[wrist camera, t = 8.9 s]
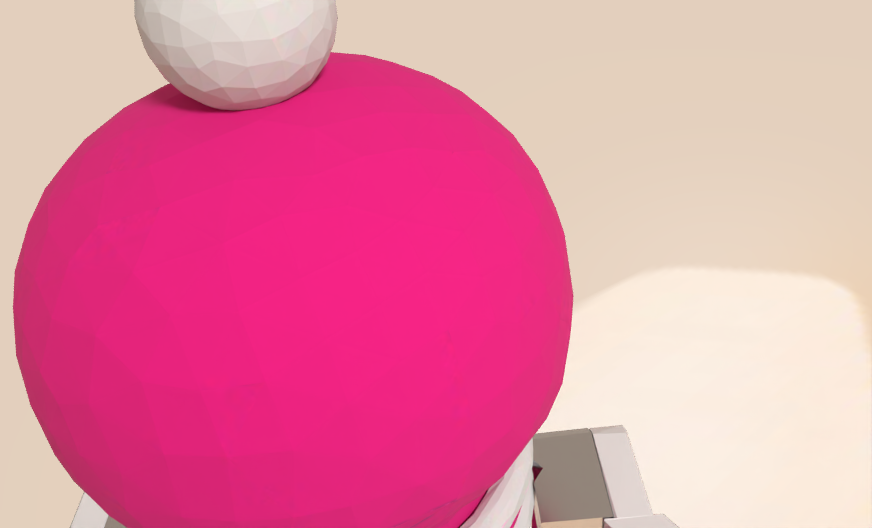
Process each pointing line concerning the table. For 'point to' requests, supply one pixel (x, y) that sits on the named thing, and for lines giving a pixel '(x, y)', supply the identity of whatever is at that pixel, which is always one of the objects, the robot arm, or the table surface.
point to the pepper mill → (294, 289)
